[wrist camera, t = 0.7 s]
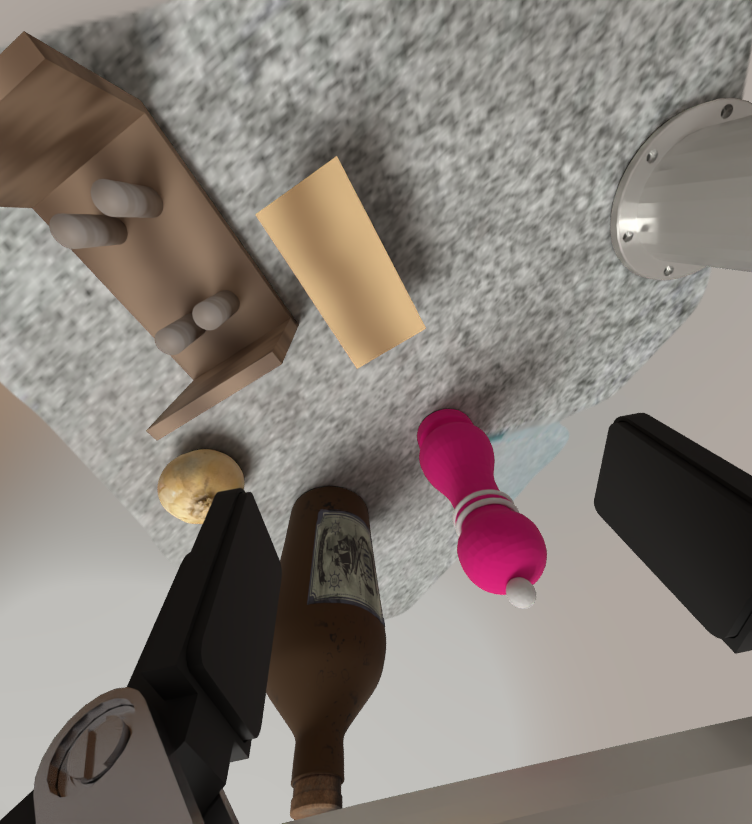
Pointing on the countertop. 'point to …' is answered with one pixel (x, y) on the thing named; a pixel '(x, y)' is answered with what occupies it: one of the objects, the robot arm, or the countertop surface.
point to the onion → (197, 483)
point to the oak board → (342, 263)
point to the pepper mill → (481, 508)
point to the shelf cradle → (137, 223)
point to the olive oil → (325, 639)
